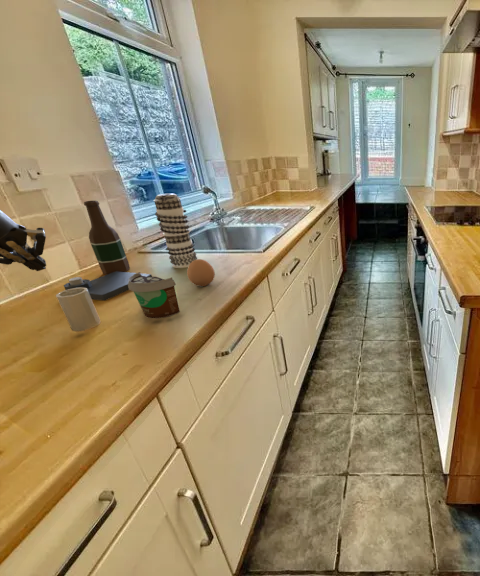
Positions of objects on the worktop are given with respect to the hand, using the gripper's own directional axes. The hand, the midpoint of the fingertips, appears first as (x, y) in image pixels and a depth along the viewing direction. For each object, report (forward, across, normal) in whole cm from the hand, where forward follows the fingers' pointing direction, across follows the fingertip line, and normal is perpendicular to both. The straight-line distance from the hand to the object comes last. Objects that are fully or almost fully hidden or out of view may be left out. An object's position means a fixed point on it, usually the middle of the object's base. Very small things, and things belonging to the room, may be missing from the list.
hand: (41, 267), depth 72 cm
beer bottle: (+34, -2, -24) cm, 42 cm away
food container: (+12, -15, +15) cm, 25 cm away
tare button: (+20, +3, -11) cm, 24 cm away
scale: (+25, -3, -10) cm, 27 cm away
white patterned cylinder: (+36, -22, -18) cm, 46 cm away
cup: (+11, -1, +12) cm, 16 cm away
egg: (+22, -27, +4) cm, 35 cm away
